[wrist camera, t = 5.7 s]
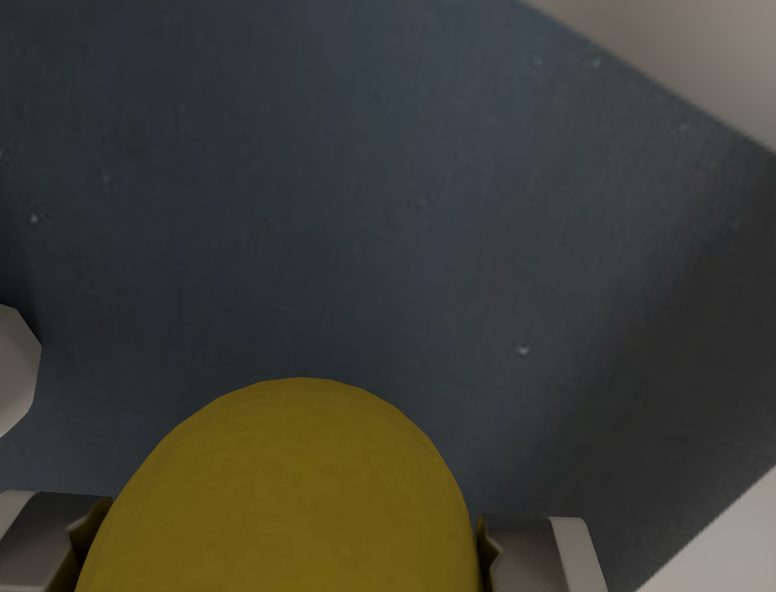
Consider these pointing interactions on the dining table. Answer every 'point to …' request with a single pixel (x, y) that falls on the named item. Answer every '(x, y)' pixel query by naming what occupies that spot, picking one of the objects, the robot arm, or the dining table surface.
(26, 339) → the salt shaker
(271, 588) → the lemon
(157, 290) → the dining table surface
